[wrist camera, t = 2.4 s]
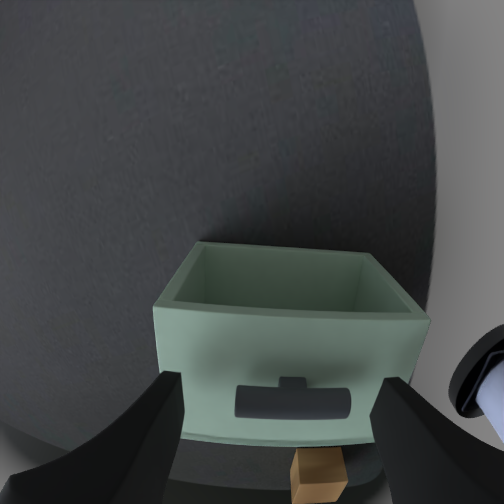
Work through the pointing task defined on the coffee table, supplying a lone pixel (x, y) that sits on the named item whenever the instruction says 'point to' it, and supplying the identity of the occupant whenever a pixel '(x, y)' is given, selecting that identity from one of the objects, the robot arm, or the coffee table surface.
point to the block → (317, 475)
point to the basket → (284, 342)
